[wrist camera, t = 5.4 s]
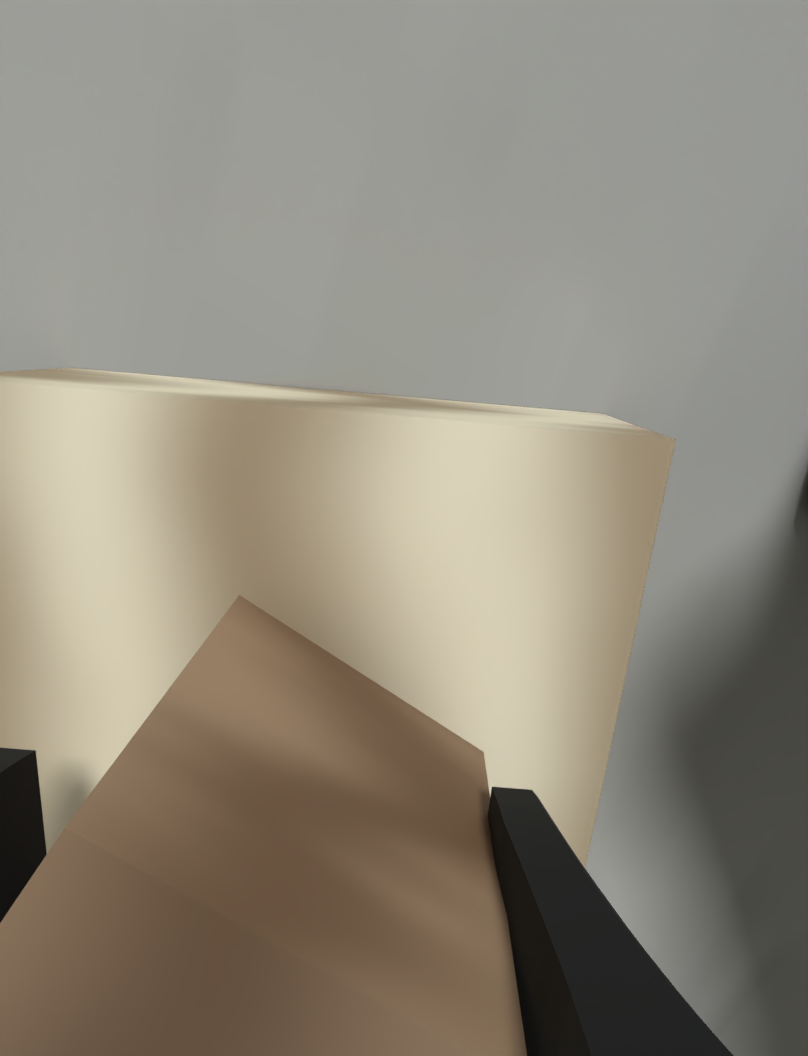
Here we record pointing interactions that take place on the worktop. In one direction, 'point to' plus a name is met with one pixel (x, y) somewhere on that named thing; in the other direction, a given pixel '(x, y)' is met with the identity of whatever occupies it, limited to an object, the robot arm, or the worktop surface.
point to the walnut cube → (269, 877)
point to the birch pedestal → (321, 562)
